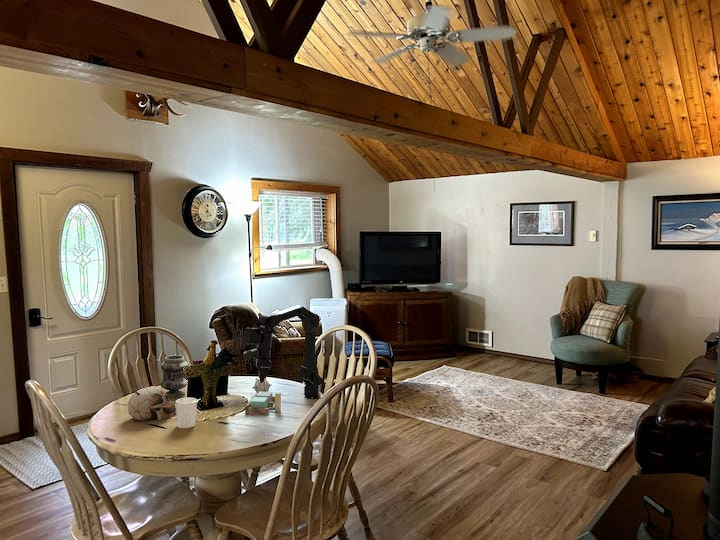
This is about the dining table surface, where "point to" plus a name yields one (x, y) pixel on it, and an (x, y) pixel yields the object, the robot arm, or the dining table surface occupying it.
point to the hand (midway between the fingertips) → (260, 380)
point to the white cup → (186, 412)
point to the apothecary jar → (174, 375)
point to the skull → (150, 404)
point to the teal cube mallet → (263, 402)
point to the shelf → (258, 410)
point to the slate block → (265, 395)
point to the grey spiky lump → (261, 386)
